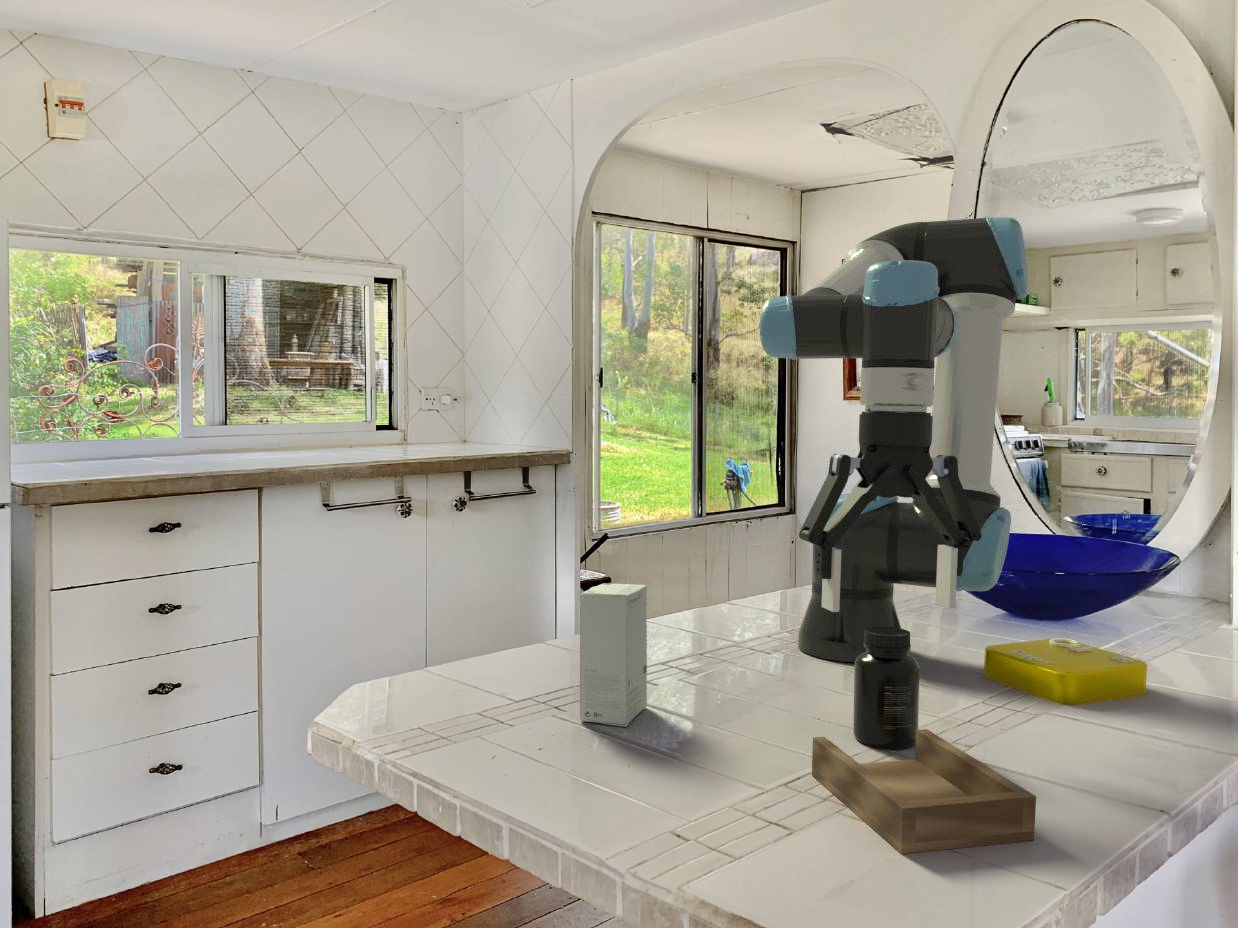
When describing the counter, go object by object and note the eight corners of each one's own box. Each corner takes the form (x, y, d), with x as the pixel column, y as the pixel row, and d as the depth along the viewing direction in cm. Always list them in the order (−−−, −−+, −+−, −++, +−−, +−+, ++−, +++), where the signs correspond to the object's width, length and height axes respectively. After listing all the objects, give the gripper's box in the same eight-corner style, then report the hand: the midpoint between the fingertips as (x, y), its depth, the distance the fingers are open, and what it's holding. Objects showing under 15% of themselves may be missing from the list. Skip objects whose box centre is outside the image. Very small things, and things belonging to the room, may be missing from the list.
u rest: (811, 775, 98) (812, 737, 98) (925, 765, 101) (926, 729, 101) (901, 853, 82) (902, 808, 81) (1034, 839, 85) (1036, 796, 84)
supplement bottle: (921, 735, 111) (925, 627, 110) (912, 754, 104) (916, 641, 104) (859, 725, 113) (862, 620, 113) (846, 744, 107) (849, 633, 106)
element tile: (976, 677, 136) (978, 642, 135) (1059, 666, 141) (1061, 633, 141) (1065, 709, 122) (1067, 671, 121) (1153, 696, 128) (1155, 659, 127)
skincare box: (627, 728, 111) (629, 596, 110) (576, 722, 113) (577, 591, 112) (648, 706, 119) (650, 582, 118) (599, 701, 121) (601, 579, 120)
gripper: (801, 407, 100) (794, 618, 101) (1021, 412, 106) (1012, 611, 107) (772, 406, 107) (766, 603, 108) (979, 411, 113) (971, 597, 114)
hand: (888, 607), depth 108 cm, fingers open, 13 cm apart
